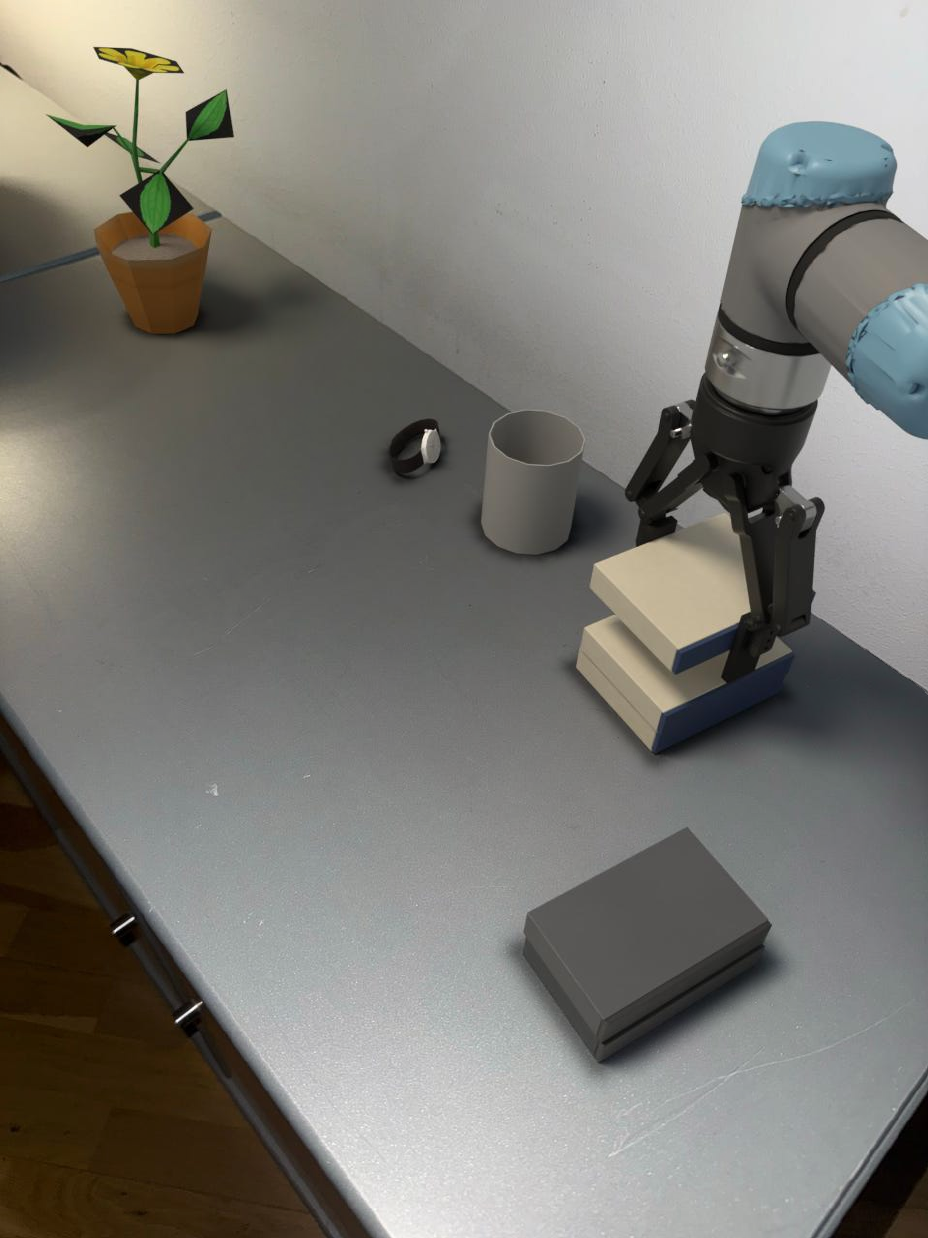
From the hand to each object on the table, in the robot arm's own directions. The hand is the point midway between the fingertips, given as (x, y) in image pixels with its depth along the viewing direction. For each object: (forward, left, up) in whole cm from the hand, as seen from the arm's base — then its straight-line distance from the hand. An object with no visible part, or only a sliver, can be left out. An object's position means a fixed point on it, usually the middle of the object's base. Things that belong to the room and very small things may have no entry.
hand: (690, 627), depth 85 cm
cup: (+22, 0, -6) cm, 23 cm away
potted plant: (+72, +16, -6) cm, 74 cm away
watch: (+36, +4, -6) cm, 37 cm away
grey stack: (-18, +18, -6) cm, 26 cm away
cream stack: (0, 0, -6) cm, 6 cm away
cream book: (0, 0, +3) cm, 3 cm away
